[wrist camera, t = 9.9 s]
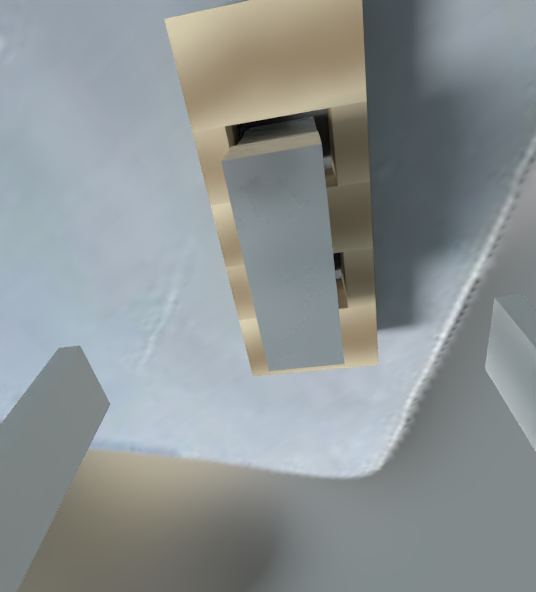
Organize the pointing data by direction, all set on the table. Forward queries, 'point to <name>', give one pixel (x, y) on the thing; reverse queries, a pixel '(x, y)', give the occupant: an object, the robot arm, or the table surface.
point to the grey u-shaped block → (287, 242)
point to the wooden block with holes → (275, 103)
